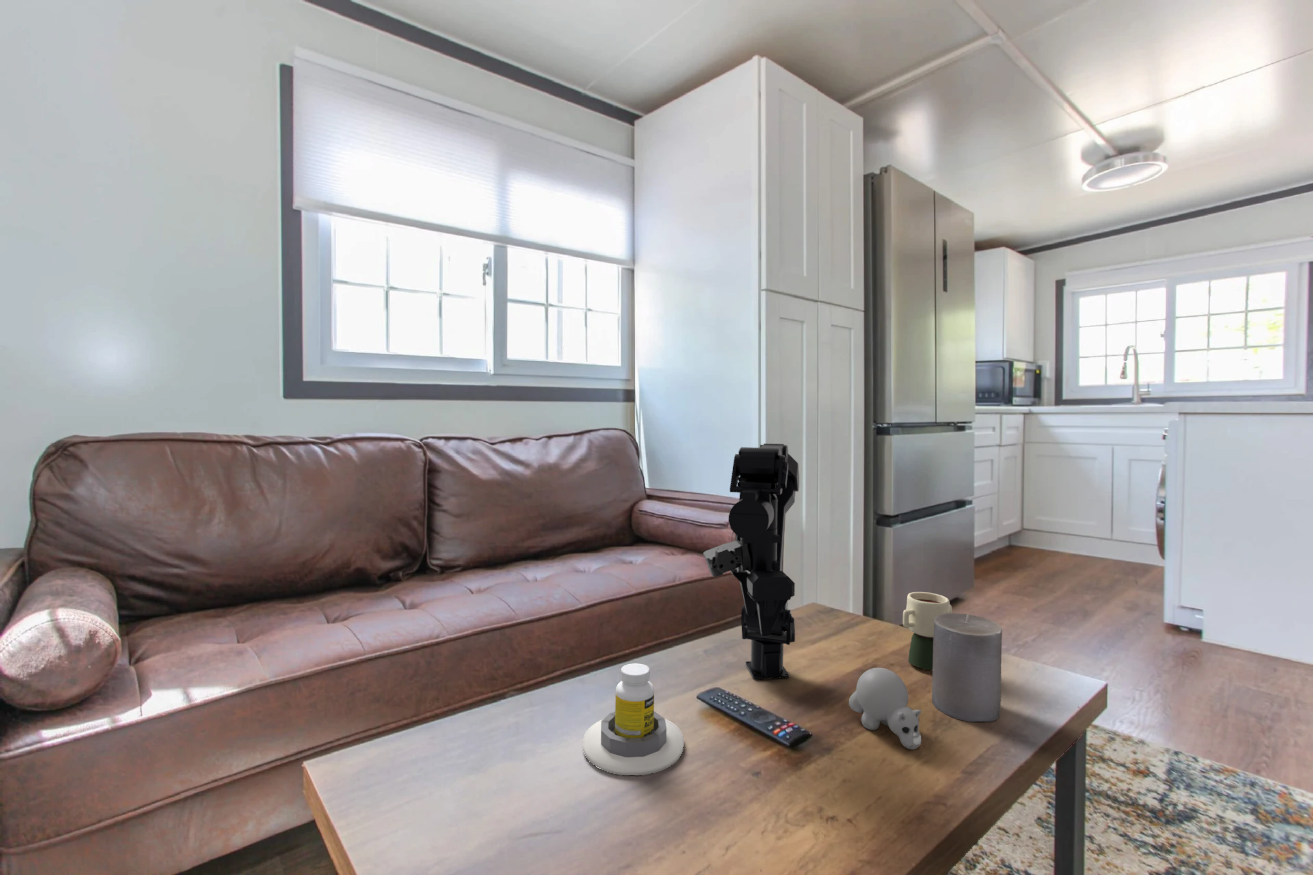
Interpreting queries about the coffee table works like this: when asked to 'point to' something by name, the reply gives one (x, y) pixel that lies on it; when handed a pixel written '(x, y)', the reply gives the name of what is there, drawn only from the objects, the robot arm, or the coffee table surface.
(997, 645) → the pillar candle
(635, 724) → the supplement bottle
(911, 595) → the character mug
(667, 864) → the coffee table surface
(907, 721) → the chubby cartoon animal
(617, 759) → the socket collar
